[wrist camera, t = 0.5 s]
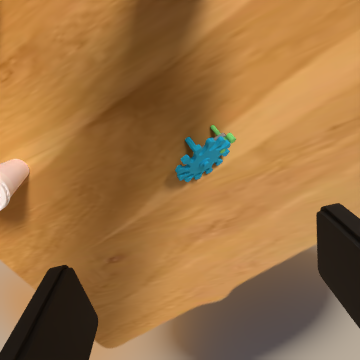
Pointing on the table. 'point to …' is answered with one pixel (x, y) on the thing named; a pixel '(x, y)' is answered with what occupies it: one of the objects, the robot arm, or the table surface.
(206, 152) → the gear
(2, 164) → the smoothie
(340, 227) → the robot arm
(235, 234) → the table surface
